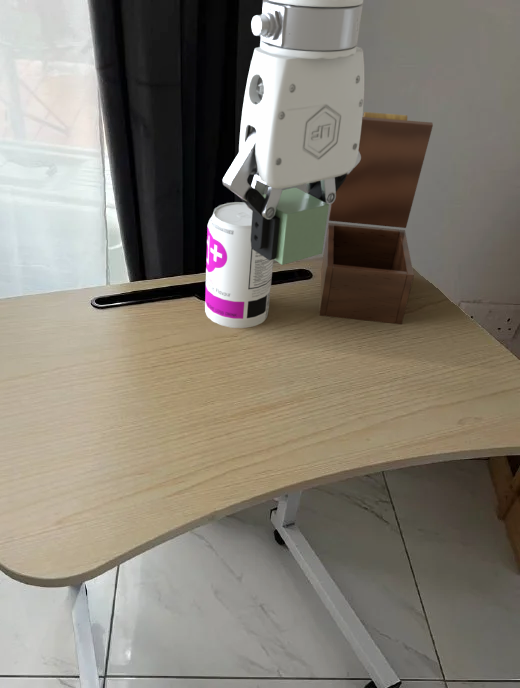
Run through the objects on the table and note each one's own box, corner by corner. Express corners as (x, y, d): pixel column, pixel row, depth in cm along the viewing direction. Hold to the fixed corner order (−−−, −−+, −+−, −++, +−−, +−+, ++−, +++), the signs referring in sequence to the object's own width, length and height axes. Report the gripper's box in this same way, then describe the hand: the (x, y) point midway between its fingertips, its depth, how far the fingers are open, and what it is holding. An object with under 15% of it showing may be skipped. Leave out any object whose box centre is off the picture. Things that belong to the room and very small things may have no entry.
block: (290, 234, 65) (295, 186, 62) (322, 253, 62) (329, 204, 59) (251, 245, 63) (254, 196, 60) (282, 265, 60) (287, 214, 57)
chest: (398, 335, 86) (414, 275, 80) (317, 327, 87) (326, 266, 81) (392, 286, 97) (405, 229, 91) (319, 279, 97) (328, 222, 92)
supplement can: (211, 342, 83) (216, 229, 74) (199, 309, 89) (202, 201, 80) (274, 337, 84) (286, 226, 75) (257, 304, 91) (267, 198, 81)
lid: (433, 125, 80) (430, 104, 84) (345, 118, 81) (346, 97, 84) (406, 228, 91) (404, 205, 94) (328, 221, 91) (330, 198, 95)
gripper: (248, 46, 45) (235, 286, 56) (422, 29, 52) (380, 243, 64) (190, 27, 49) (189, 251, 61) (357, 14, 57) (328, 216, 68)
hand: (287, 245), depth 62 cm, fingers closed on block, 4 cm apart
